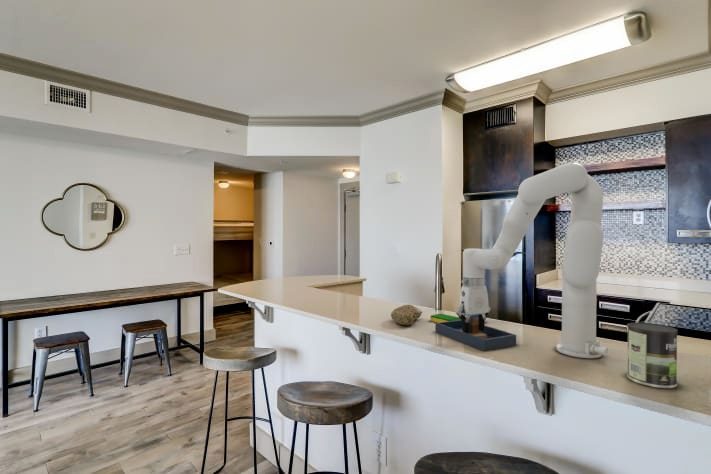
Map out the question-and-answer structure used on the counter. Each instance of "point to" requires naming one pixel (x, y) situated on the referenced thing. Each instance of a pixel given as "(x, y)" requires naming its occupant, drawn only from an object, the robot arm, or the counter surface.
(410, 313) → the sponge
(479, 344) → the baking dish
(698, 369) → the counter surface
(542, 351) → the counter surface
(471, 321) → the two-tone wood block
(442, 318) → the dish sponge
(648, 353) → the coffee can
